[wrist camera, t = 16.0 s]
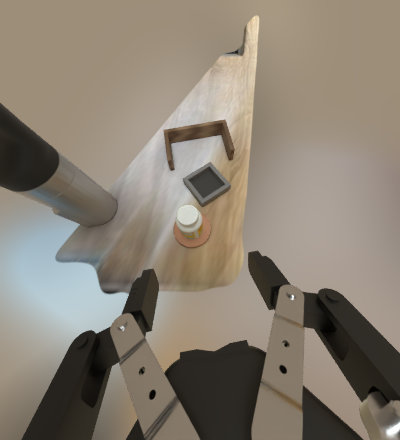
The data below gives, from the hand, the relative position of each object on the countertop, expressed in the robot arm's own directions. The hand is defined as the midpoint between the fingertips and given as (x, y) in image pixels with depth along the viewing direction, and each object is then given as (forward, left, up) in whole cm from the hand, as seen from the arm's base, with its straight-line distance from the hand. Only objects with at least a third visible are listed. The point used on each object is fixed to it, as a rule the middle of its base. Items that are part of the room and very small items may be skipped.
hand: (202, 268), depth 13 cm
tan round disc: (+3, +10, -23) cm, 26 cm away
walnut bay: (+18, +29, -23) cm, 41 cm away
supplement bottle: (+3, +10, -23) cm, 25 cm away
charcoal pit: (+13, +18, -23) cm, 32 cm away
